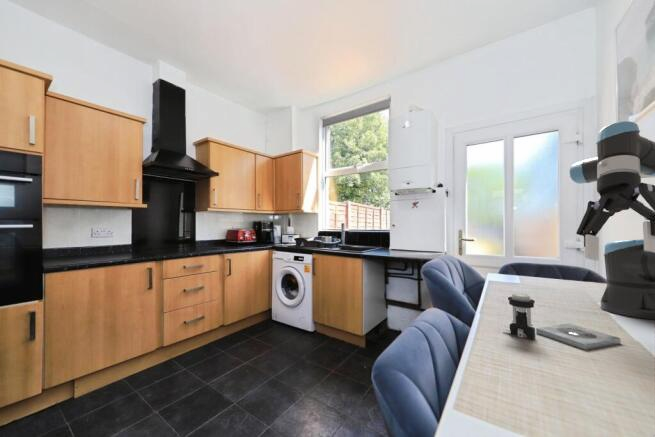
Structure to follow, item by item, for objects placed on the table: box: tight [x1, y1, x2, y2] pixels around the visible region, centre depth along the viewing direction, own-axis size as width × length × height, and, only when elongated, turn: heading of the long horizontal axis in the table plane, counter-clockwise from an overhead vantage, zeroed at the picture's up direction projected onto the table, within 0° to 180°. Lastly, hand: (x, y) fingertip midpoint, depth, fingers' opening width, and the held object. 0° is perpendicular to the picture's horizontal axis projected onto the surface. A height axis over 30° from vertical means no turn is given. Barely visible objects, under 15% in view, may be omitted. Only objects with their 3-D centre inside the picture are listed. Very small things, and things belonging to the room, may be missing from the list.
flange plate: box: [535, 323, 622, 351], centre depth 62 cm, size 12×10×1 cm
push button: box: [503, 293, 536, 341], centre depth 64 cm, size 7×5×10 cm
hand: (619, 255), depth 61 cm, fingers open, 13 cm apart
